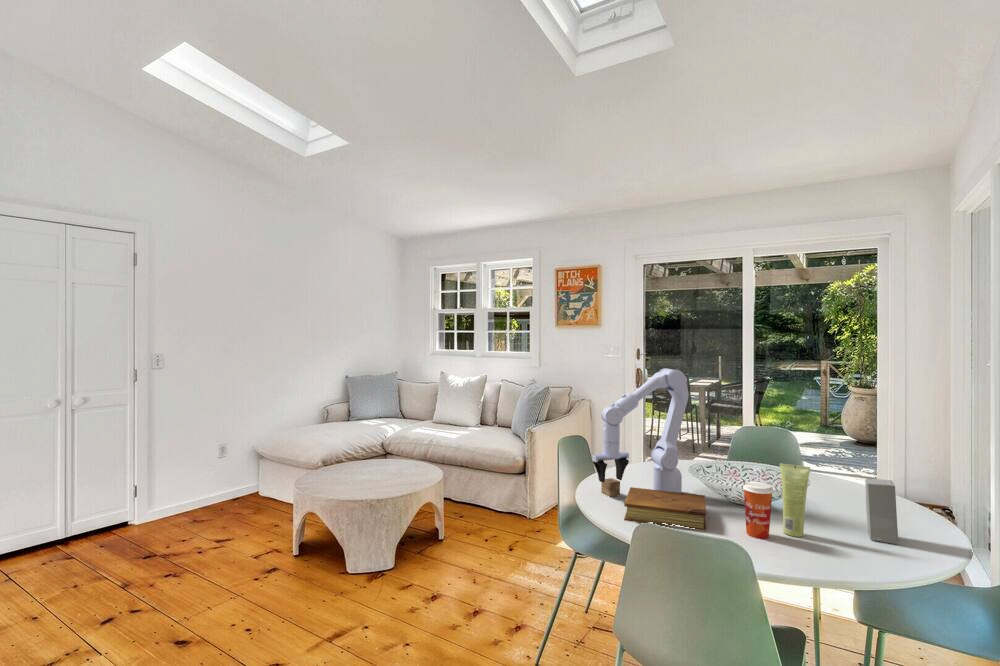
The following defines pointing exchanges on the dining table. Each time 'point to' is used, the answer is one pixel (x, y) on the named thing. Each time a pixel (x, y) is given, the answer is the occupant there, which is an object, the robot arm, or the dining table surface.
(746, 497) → the paper cup
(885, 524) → the skincare box
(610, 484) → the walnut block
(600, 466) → the robot arm
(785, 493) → the tube
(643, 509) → the diary
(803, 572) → the dining table surface
